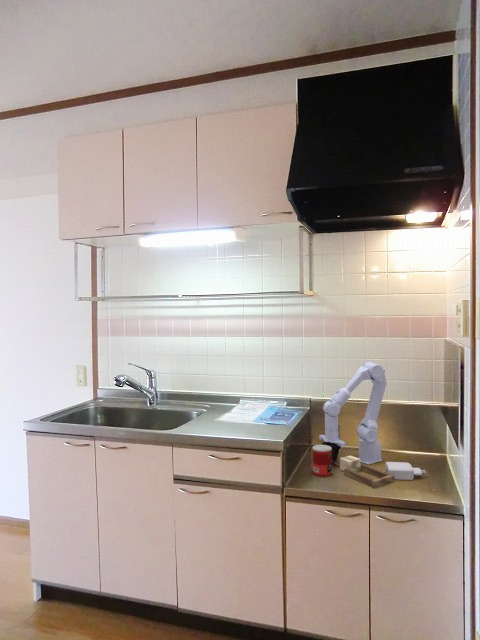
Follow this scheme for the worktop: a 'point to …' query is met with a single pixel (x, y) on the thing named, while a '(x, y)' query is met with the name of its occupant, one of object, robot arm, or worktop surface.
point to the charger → (402, 470)
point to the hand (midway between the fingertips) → (332, 459)
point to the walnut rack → (382, 478)
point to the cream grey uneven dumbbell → (349, 463)
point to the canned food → (322, 460)
